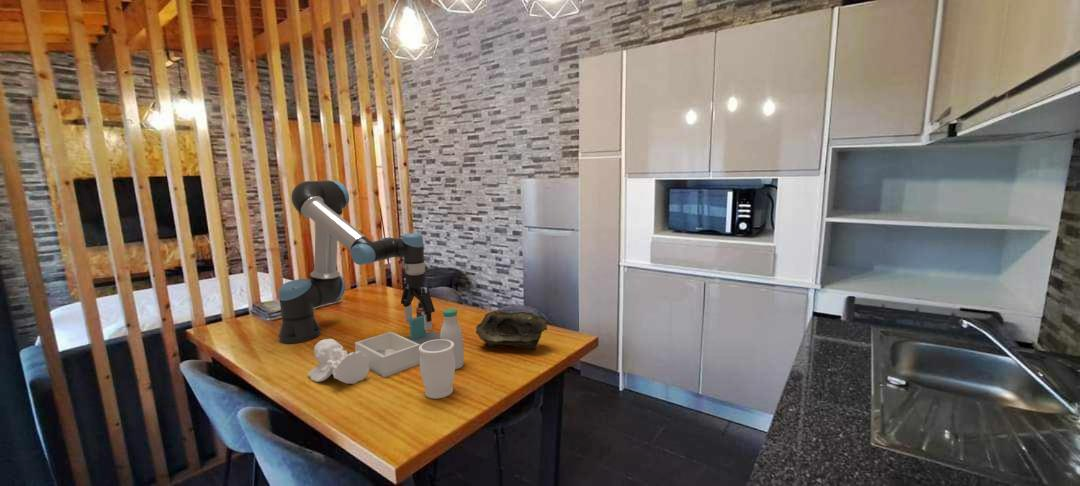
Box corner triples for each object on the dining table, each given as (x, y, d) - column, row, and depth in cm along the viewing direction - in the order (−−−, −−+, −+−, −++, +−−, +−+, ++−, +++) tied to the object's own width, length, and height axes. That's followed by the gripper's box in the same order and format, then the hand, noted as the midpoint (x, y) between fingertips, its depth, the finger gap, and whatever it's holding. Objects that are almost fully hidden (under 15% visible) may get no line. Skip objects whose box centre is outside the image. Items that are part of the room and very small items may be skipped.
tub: (356, 361, 153) (354, 342, 152) (392, 349, 164) (390, 331, 162) (384, 377, 140) (382, 357, 139) (421, 363, 150) (420, 344, 149)
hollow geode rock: (548, 362, 160) (557, 326, 168) (539, 349, 151) (550, 311, 158) (482, 350, 171) (494, 316, 178) (470, 337, 161) (483, 302, 168)
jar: (425, 384, 135) (422, 339, 132) (458, 383, 136) (456, 337, 133) (418, 402, 124) (415, 353, 122) (454, 400, 125) (452, 351, 123)
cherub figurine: (328, 362, 128) (299, 340, 140) (331, 399, 131) (302, 374, 143) (369, 347, 138) (339, 328, 150) (371, 381, 141) (341, 360, 153)
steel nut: (369, 359, 152) (368, 353, 151) (377, 355, 155) (376, 349, 155) (377, 361, 150) (377, 355, 150) (385, 357, 154) (385, 350, 154)
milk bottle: (468, 362, 150) (465, 307, 147) (456, 372, 143) (454, 314, 140) (448, 359, 153) (446, 306, 150) (437, 369, 146) (433, 312, 143)
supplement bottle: (427, 329, 184) (425, 304, 182) (414, 328, 185) (413, 303, 184) (433, 324, 190) (432, 300, 188) (421, 324, 191) (419, 299, 189)
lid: (399, 346, 167) (397, 322, 165) (432, 335, 178) (430, 312, 176) (430, 361, 153) (428, 334, 151) (463, 348, 164) (462, 323, 162)
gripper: (389, 270, 172) (393, 321, 175) (425, 279, 155) (428, 335, 159) (406, 267, 177) (409, 316, 181) (442, 275, 161) (445, 329, 164)
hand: (418, 325), depth 170 cm, fingers open, 13 cm apart
